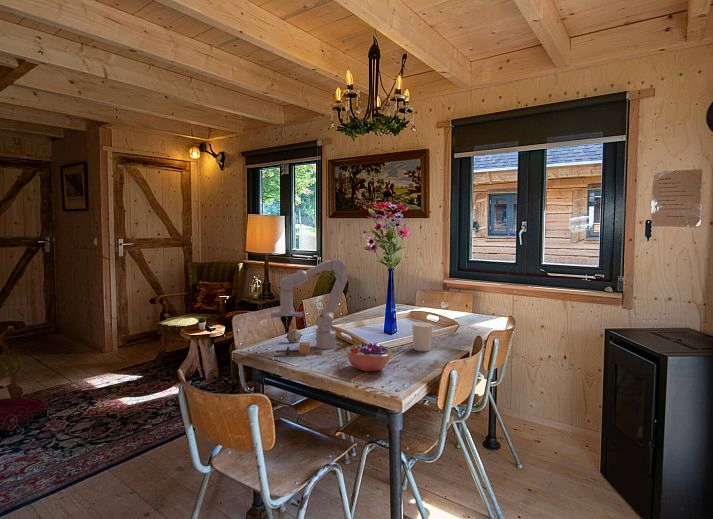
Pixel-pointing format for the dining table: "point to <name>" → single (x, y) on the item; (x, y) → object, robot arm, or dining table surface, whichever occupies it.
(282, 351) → the lane rails
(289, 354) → the brown boxy piece
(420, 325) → the candle holder
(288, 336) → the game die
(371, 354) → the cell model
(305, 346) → the block
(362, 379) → the dining table surface
